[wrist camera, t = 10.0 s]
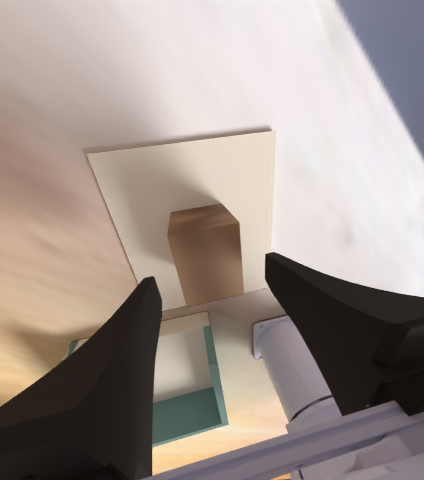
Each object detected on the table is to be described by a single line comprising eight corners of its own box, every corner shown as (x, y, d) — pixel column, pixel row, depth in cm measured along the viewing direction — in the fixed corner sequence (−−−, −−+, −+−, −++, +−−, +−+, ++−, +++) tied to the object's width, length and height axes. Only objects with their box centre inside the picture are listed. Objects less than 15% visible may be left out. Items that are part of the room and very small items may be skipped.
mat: (273, 131, 14) (275, 130, 13) (267, 285, 21) (269, 287, 21) (88, 153, 12) (86, 153, 12) (150, 310, 20) (150, 313, 19)
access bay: (207, 310, 21) (217, 363, 16) (218, 372, 27) (228, 424, 22) (72, 341, 19) (31, 411, 14) (116, 399, 26) (100, 462, 20)
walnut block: (221, 203, 15) (239, 222, 11) (227, 259, 18) (244, 293, 13) (170, 212, 15) (167, 236, 10) (184, 269, 17) (186, 307, 13)
